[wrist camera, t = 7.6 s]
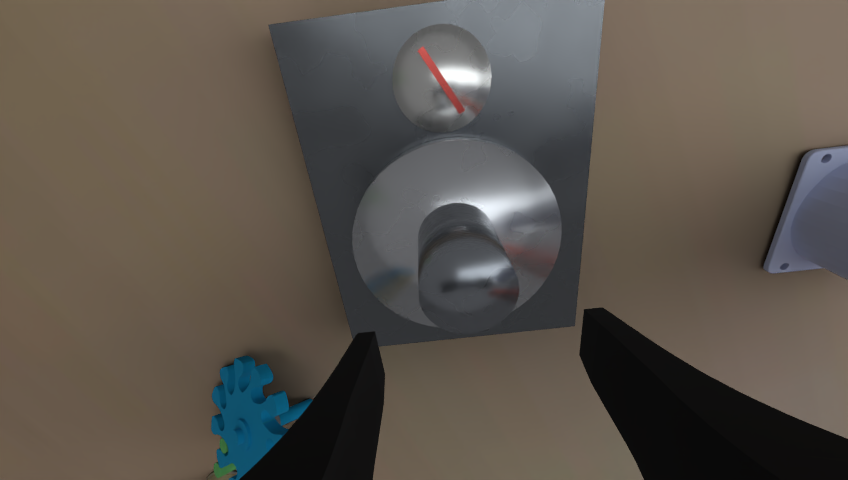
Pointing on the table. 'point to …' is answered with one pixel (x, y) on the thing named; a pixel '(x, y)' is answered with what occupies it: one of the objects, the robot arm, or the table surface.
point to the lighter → (224, 479)
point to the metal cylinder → (464, 270)
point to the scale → (447, 145)
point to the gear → (248, 416)
